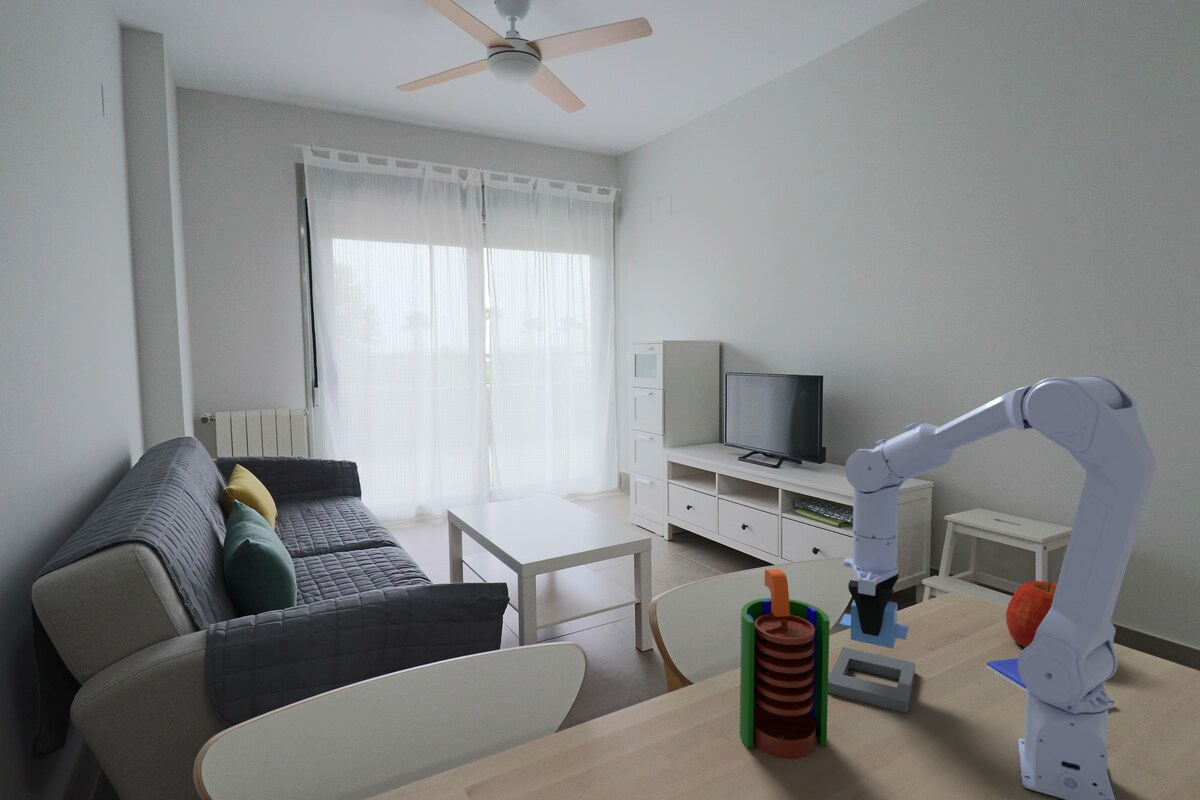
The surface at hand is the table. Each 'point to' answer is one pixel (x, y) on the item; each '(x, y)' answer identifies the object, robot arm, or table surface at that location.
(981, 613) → the table surface
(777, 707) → the motor
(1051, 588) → the apple
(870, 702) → the grey flat frame
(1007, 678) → the hard drive
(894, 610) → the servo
